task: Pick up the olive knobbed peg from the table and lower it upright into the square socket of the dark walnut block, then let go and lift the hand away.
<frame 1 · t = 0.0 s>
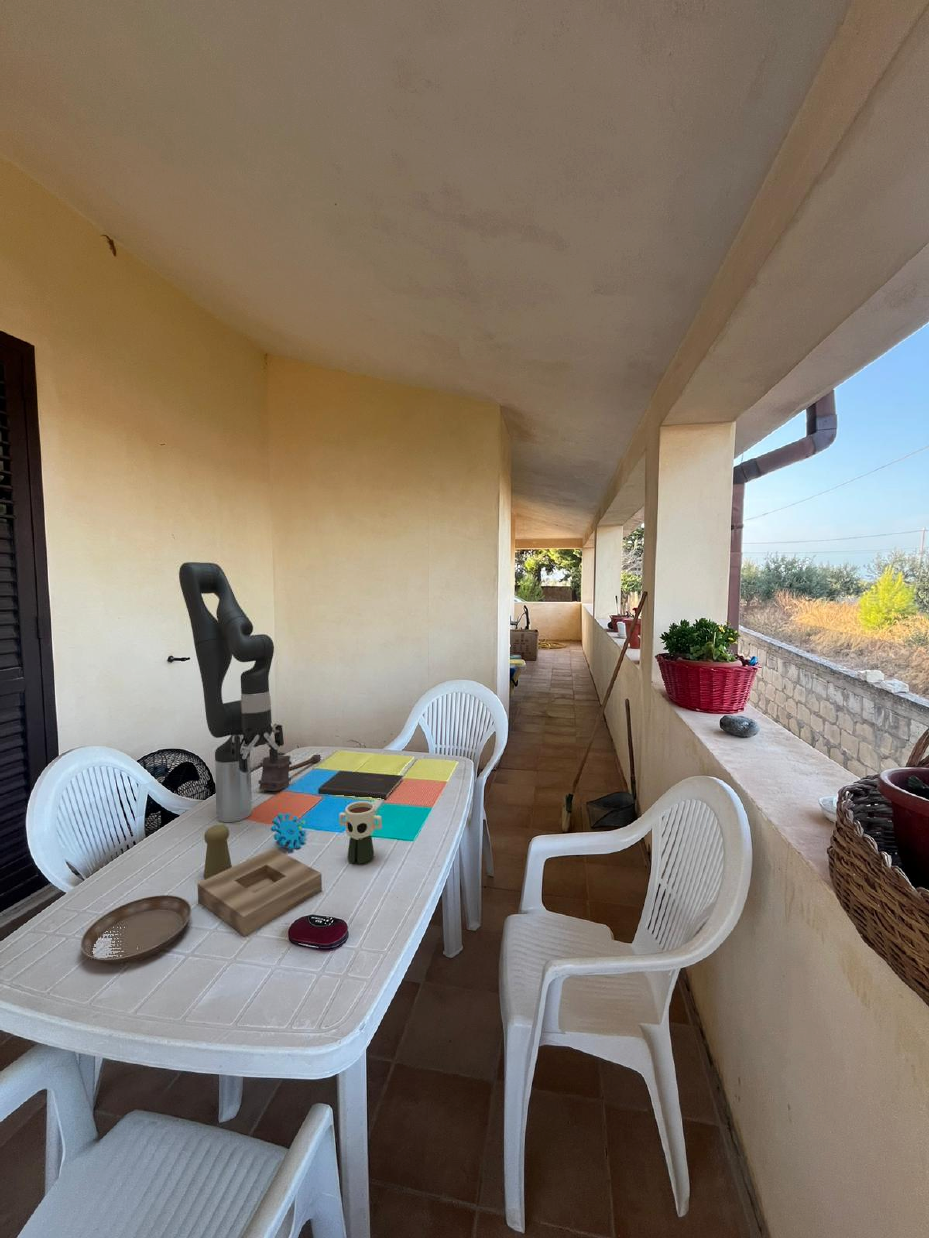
hand: (259, 767, 139), 17 cm above the table, tool pointing down, fingers open, 8 cm apart
character mug: (360, 859, 125), on the table
olive knobbed peg: (218, 873, 118), on the table
socket block: (261, 896, 110), on the table
hardcover book: (361, 789, 168), on the table
gear: (290, 844, 132), on the table
hammer: (295, 776, 178), on the table
plant saucer: (139, 939, 97), on the table
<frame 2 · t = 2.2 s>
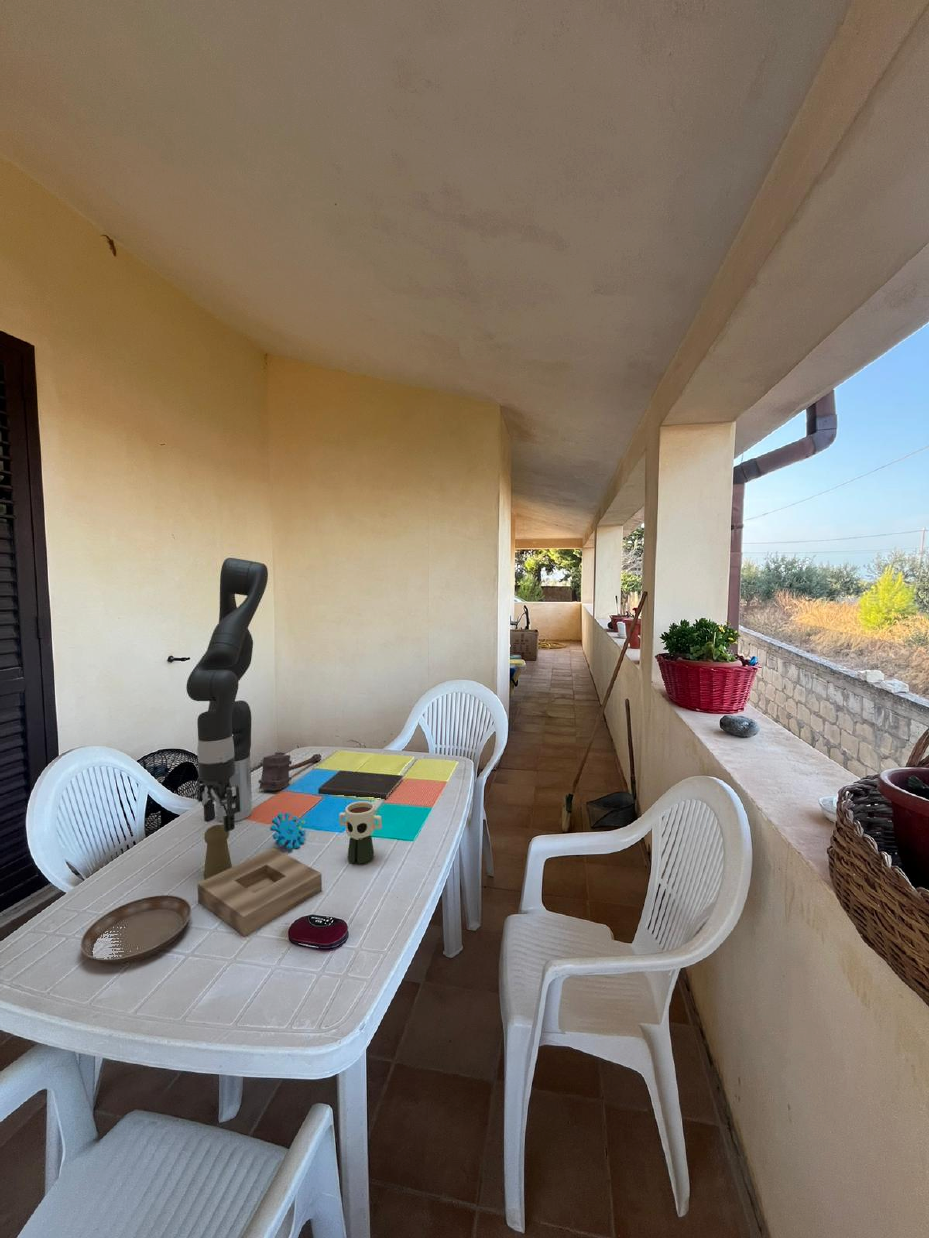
hand: (219, 825, 118), 11 cm above the table, tool pointing down, fingers open, 8 cm apart
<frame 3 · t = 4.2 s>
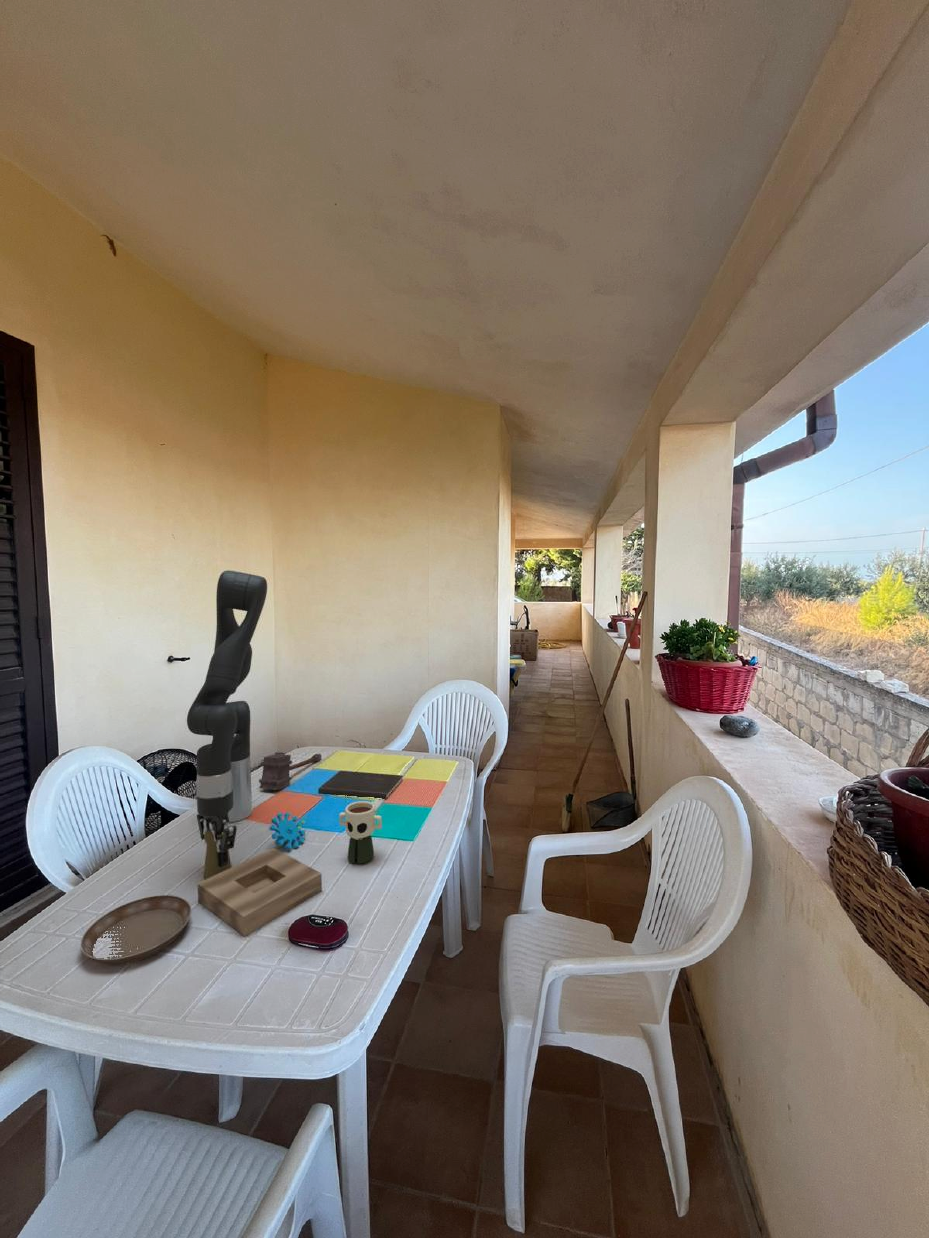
hand: (217, 861, 118), 3 cm above the table, tool pointing down, fingers closed on olive knobbed peg, 4 cm apart
olive knobbed peg: (218, 873, 118), on the table, touching gripper
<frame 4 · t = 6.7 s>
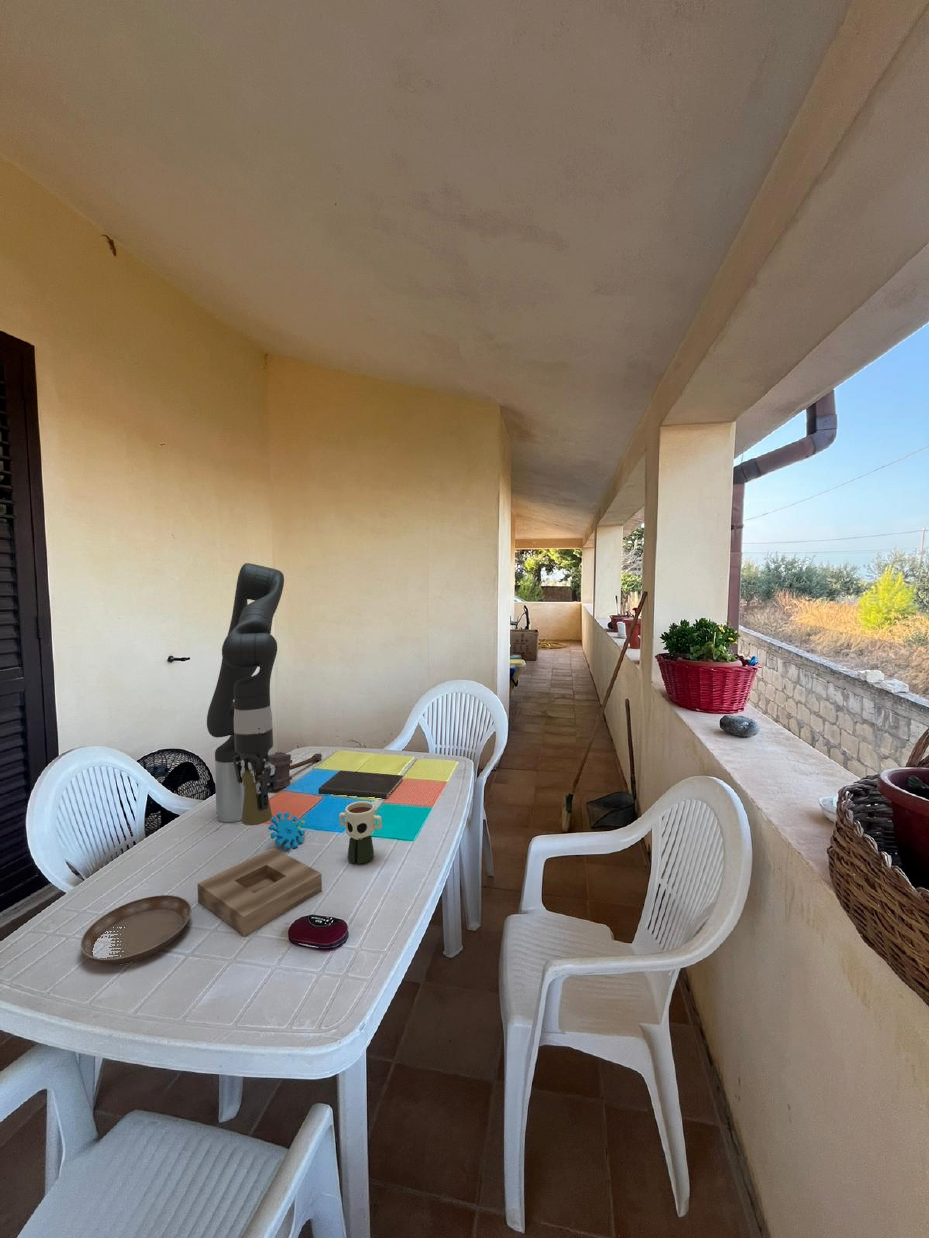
hand: (256, 806, 109), 20 cm above the table, tool pointing down, fingers closed on olive knobbed peg, 4 cm apart
olive knobbed peg: (257, 819, 109), point 17 cm above the table, touching gripper
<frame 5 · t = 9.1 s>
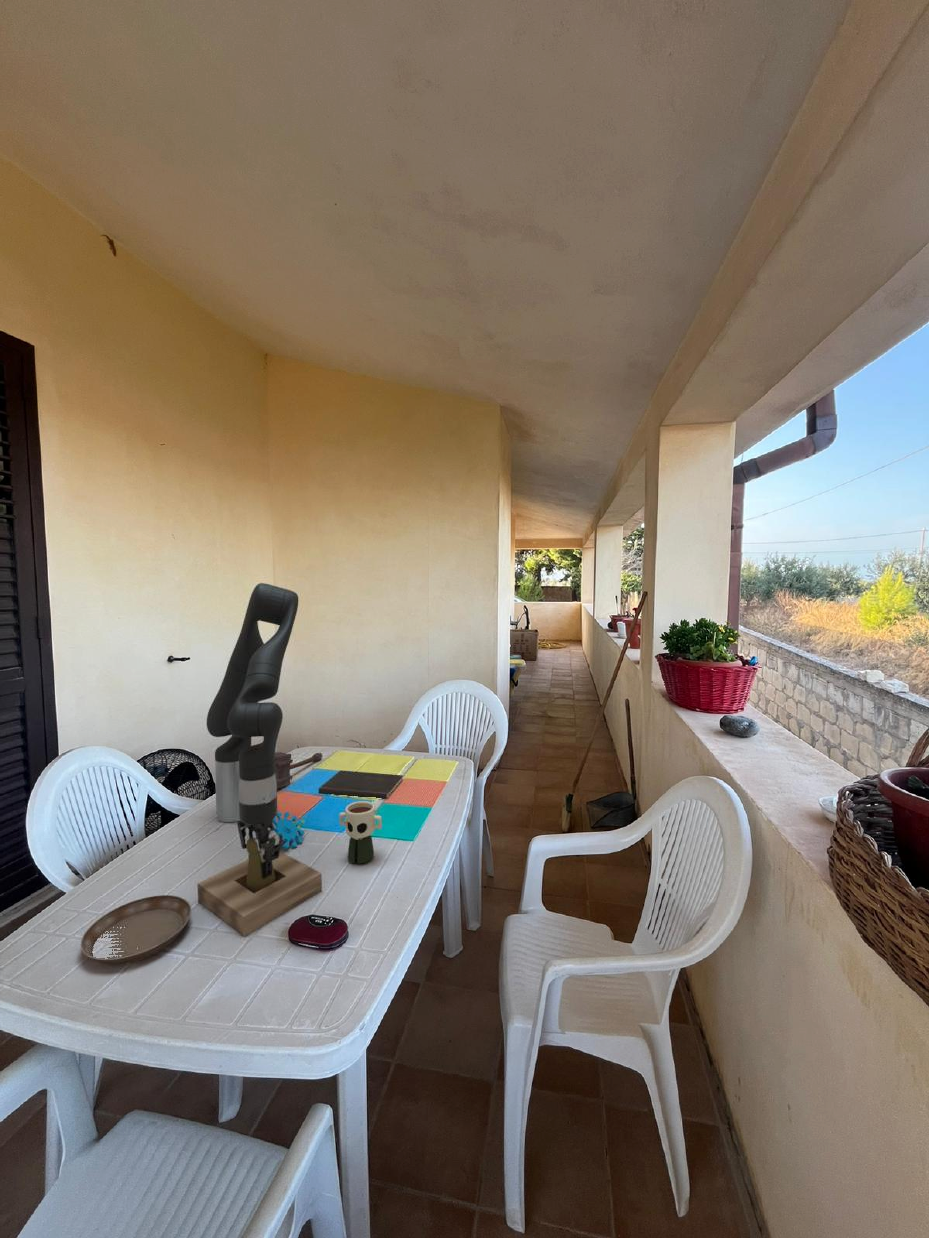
hand: (260, 872, 109), 5 cm above the table, tool pointing down, fingers closed on olive knobbed peg, 4 cm apart
olive knobbed peg: (260, 885, 110), point 2 cm above the table, touching gripper
when the fingers open (5 cm above the table, at t = 9.3 s): olive knobbed peg drops 1 cm, resting on socket block.
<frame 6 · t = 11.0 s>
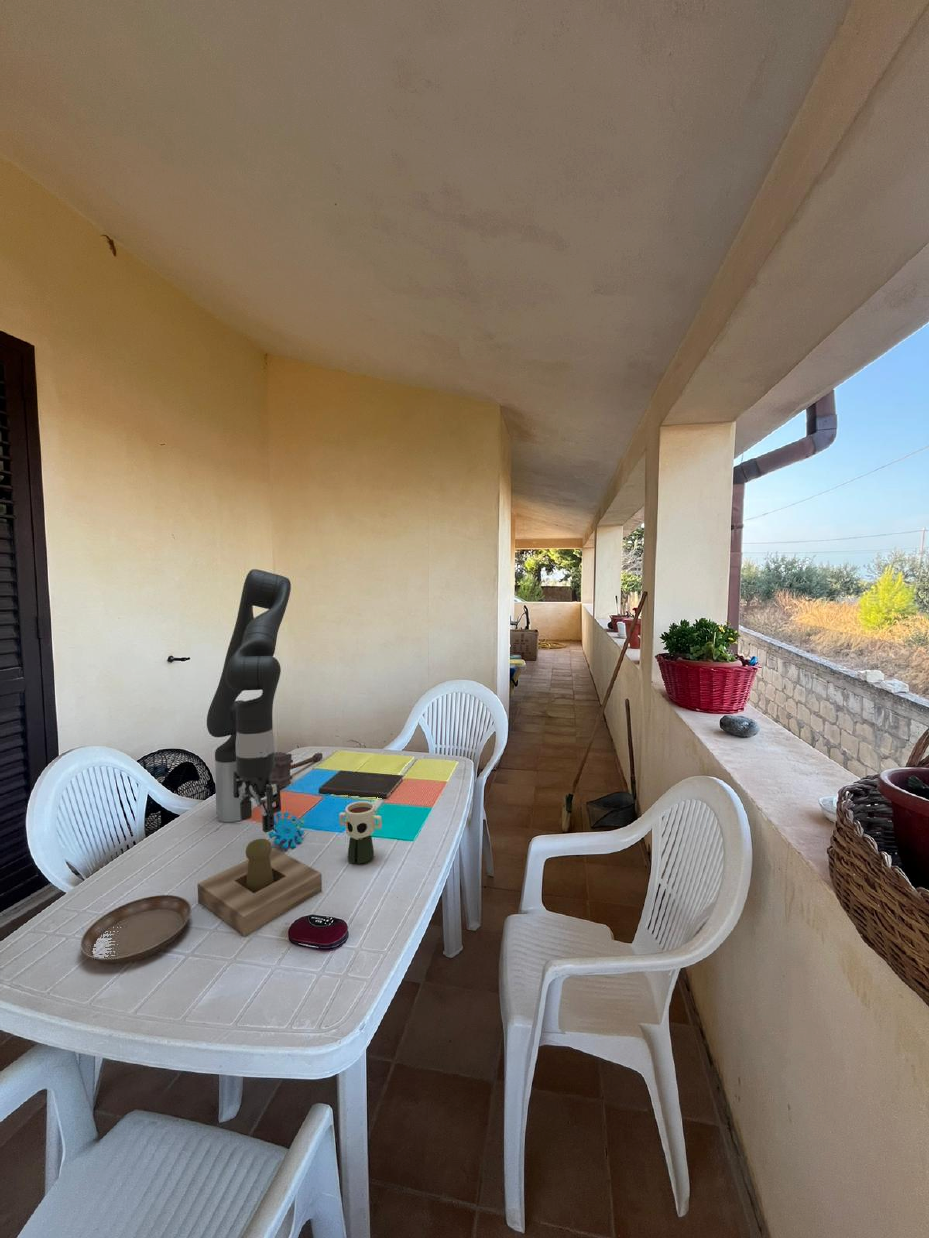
hand: (257, 824, 108), 16 cm above the table, tool pointing down, fingers open, 8 cm apart
olive knobbed peg: (260, 891, 110), point 1 cm above the table, touching socket block
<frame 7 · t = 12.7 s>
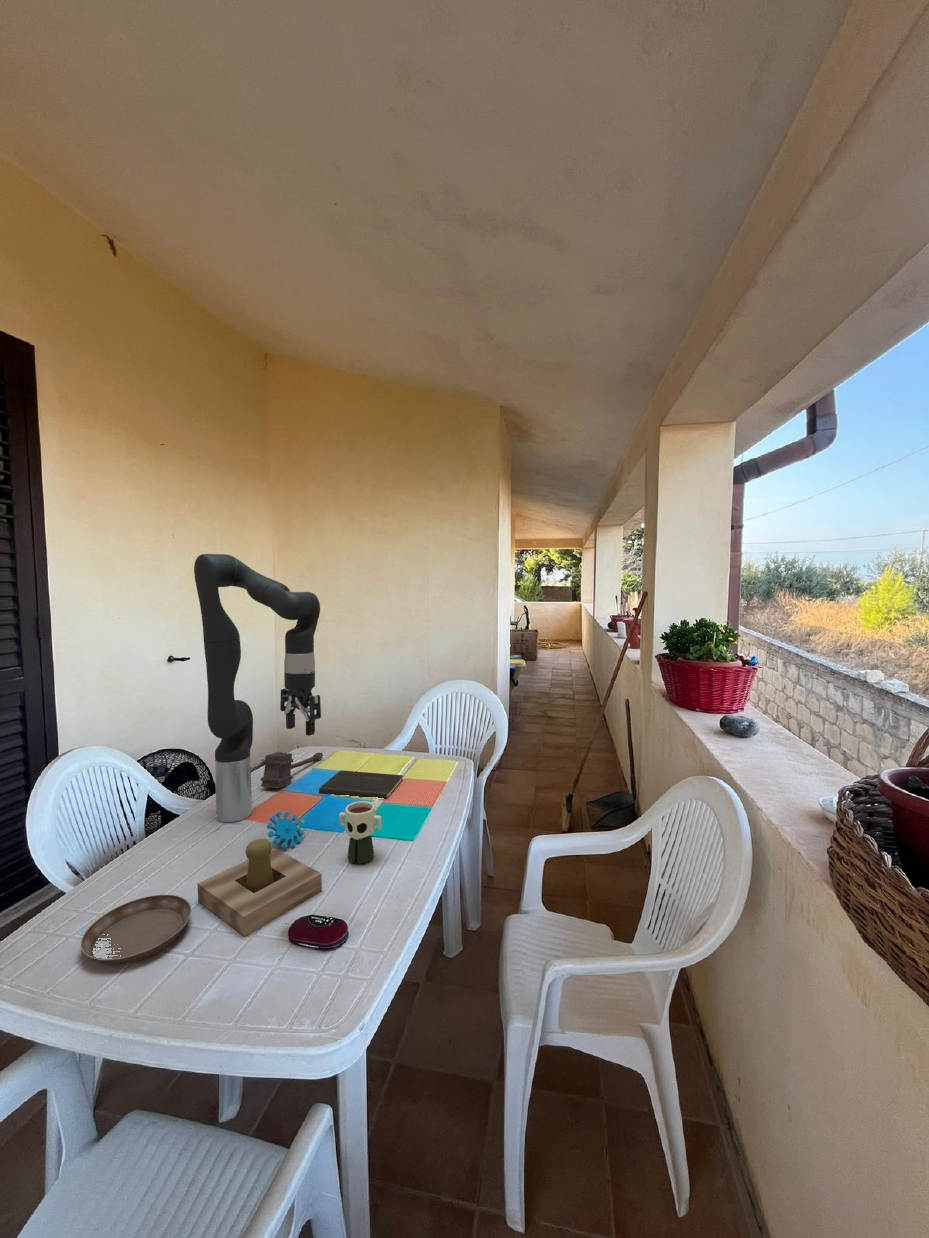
hand: (300, 731, 132), 29 cm above the table, tool pointing down, fingers open, 8 cm apart
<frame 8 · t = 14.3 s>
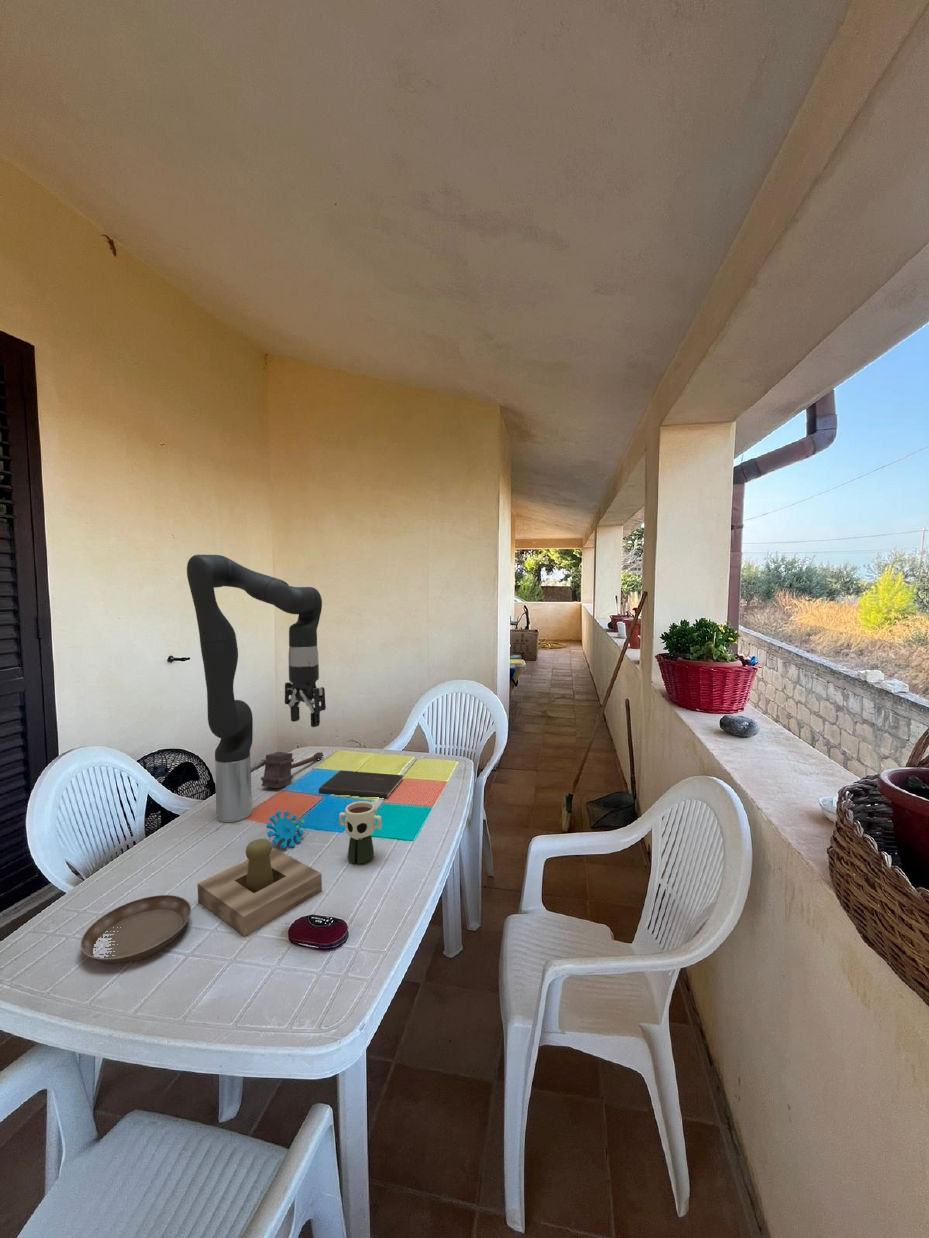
hand: (305, 723, 135), 30 cm above the table, tool pointing down, fingers open, 8 cm apart
at the end: olive knobbed peg 0.3 cm off-centre on the socket block, point 0.8 cm above the socket block's base; olive knobbed peg tilted 0°; the gripper is holding nothing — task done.
